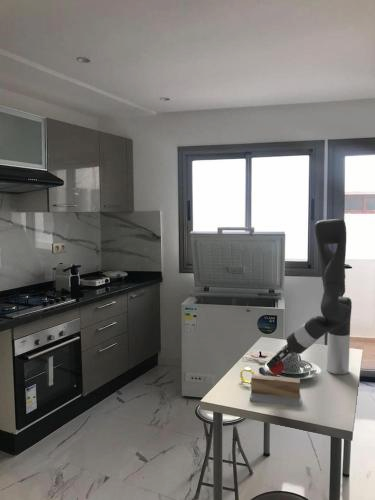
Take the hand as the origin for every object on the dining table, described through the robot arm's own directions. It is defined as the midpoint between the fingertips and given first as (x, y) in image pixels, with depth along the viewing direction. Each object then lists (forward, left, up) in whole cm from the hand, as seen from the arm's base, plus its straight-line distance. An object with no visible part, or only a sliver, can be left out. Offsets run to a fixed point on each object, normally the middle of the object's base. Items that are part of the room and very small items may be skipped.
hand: (271, 363), depth 164 cm
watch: (-10, -10, -13) cm, 20 cm away
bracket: (-18, -3, -14) cm, 22 cm away
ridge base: (+1, +2, -13) cm, 13 cm away
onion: (+1, +2, -5) cm, 5 cm away
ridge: (+1, +2, -12) cm, 12 cm away
